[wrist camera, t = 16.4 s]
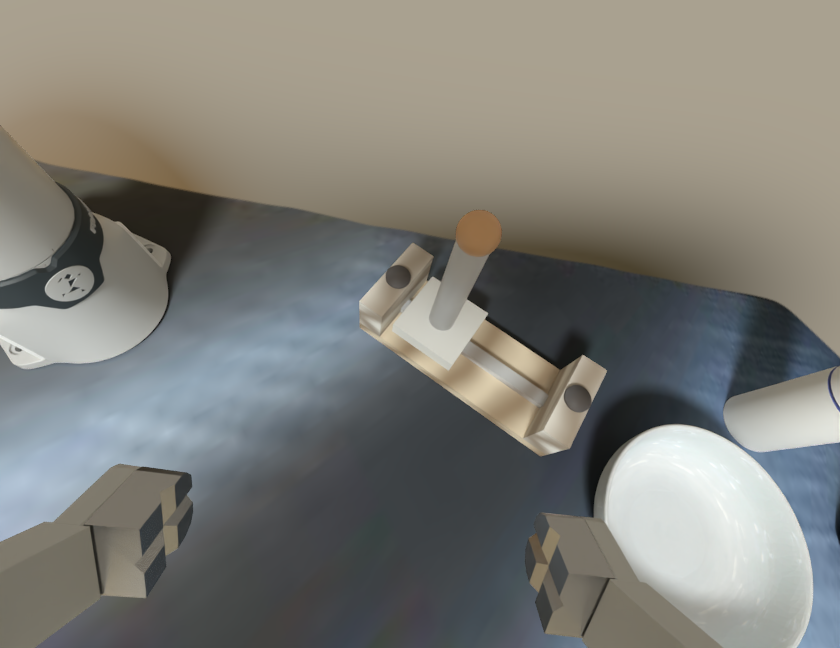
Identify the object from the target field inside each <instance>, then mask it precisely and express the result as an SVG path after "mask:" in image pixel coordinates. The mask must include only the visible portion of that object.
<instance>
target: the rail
mask: <svg viewBox="0 0 840 648" xmlns="http://www.w3.org/2000/svg"><path fill="white" fill-rule="evenodd" d="M433 257H434V256H432V255H431V254H429V253H428V252H426V251H425V250H423V249H422V248H420V247H419V246H417V245H416V244H414V243H412V244H411V245H410V246H409V247H408V248H407V249H406V251H405V252H404V253H403V254H402V255H401V256H400V257H399V258H398V259H397V260H396V262H395V263H394V264H393V265H392V266H391V267H390V268H389V269H388V270H387V271H386V273H385V274H384V275H383V276H382V277H381V278H380V279H379V280H378V281H377V282H376V284H375V285H374V286H373V287H372V288H371V289H370V290H369V291H368V292H367V293H366V295H365V296H364V297H363V298H362V299H361V300H360V301H359V310H360V328H361V329H362V330H364V331H365V332H367V333H368V334H369V335H371V336H372V337H374V338H375V339H376V340H378V341H379V342H381V343H382V344H383V345H385V346H386V347H388V348H389V349H390V350H392V351H393V352H395V353H396V354H397V355H399V356H400V357H402V358H403V359H404V360H406V361H407V362H409V363H410V364H411V365H413V366H414V367H416V368H417V369H418V370H420V371H421V372H423V373H424V374H425V375H427V376H428V377H430V378H431V379H433V380H434V381H435V382H437V383H438V384H440V385H441V386H442V387H444V388H445V389H447V390H448V391H449V392H451V393H452V394H454V395H455V396H456V397H458V398H459V399H461V400H462V401H463V402H465V403H466V404H468V405H469V406H470V407H472V408H473V409H475V410H476V411H477V412H479V413H480V414H482V415H483V416H484V417H486V418H487V419H489V420H490V421H491V422H493V423H494V424H496V425H497V426H498V427H500V428H501V429H503V430H504V431H505V432H507V433H508V434H510V435H511V436H512V437H514V438H515V439H517V440H518V441H520V442H521V443H522V444H524V445H525V446H527V447H528V448H529V449H531V450H532V451H534V452H535V453H536V454H538V455H539V456H543V455H547V454H551V453H555V452H559V451H562V450H566V449H570V447H571V445H572V442H573V440H574V438H575V436H576V434H577V432H578V430H579V428H580V426H581V424H582V422H583V420H584V418H585V415H586V413H587V411H588V409H589V408H590V406H591V403H592V401H593V399H594V397H595V395H596V393H597V391H598V389H599V386H600V384H601V382H602V380H603V378H604V376H605V374H606V372H607V370H605V369H604V368H602V367H601V366H599V365H598V364H596V363H595V362H593V361H592V360H590V359H589V358H587V357H586V356H584V355H582V356H580V357H579V358H578V359H576V360H575V361H573V362H572V363H570V364H569V365H567V366H566V367H564V368H563V369H561V370H559V369H558V368H556V367H555V366H553V365H552V364H550V363H549V362H547V361H546V360H544V359H543V358H541V357H540V356H538V355H537V354H535V353H534V352H532V351H531V350H529V349H528V348H526V347H525V346H523V345H522V344H520V343H519V342H518V341H516V340H515V339H513V338H512V337H510V336H509V335H507V334H506V333H504V332H503V331H501V330H500V329H498V328H497V327H495V326H494V325H492V324H491V323H489V322H488V321H486V320H485V319H484V321H483V322H482V324H481V325H480V327H479V328H478V330H477V331H476V332H475V334H474V335H473V337H472V338H471V340H470V341H469V342H468V344H467V345H466V347H465V348H464V350H463V351H462V352H461V354H460V355H459V357H458V358H457V360H456V361H455V362H454V364H453V365H452V367H451V368H450V370H449V371H448V370H447V369H445V368H444V367H442V366H441V365H440V364H438V363H437V362H435V361H434V360H432V359H431V358H430V357H428V356H427V355H425V354H424V353H423V352H421V351H420V350H418V349H417V348H415V347H414V346H413V345H411V344H410V343H408V342H407V341H405V340H404V339H403V338H401V337H400V336H398V335H397V334H396V333H394V332H393V331H392V328H393V324H394V322H395V321H396V320H397V319H398V318H399V316H400V315H401V314H402V313H403V312H404V310H405V309H406V308H407V307H408V306H409V304H410V303H411V302H412V301H413V299H414V298H415V297H416V296H417V295H418V293H419V292H420V291H421V290H422V289H423V287H424V286H425V285H426V284H427V283H428V281H427V278H428V274H429V271H430V267H431V264H432V260H433Z"/></svg>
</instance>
